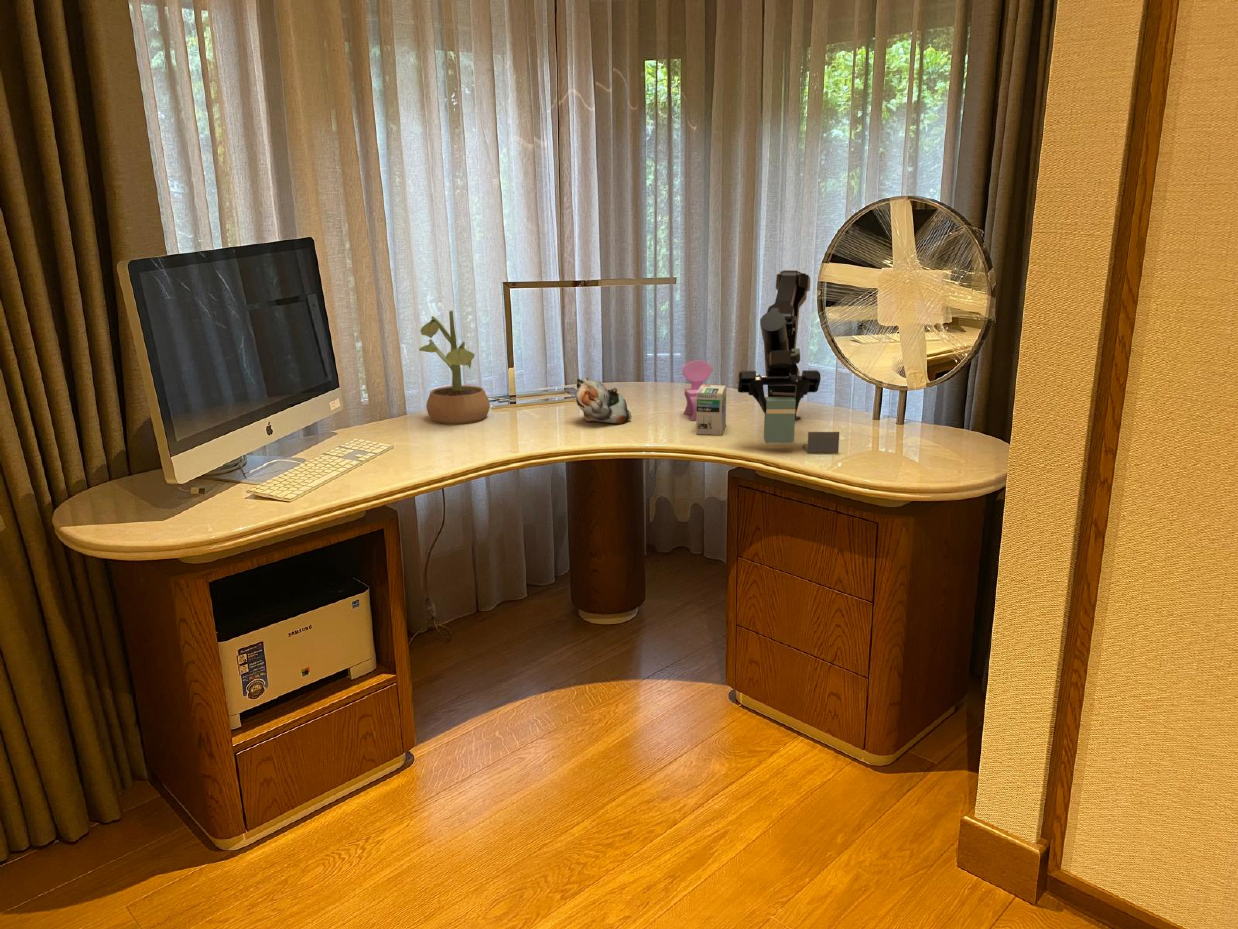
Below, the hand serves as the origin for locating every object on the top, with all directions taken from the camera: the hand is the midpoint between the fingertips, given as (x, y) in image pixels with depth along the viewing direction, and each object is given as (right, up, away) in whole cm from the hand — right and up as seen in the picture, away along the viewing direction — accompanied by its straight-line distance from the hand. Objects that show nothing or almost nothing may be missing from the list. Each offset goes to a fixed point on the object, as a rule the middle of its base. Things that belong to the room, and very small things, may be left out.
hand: (780, 412), depth 212 cm
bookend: (+10, -8, +5) cm, 14 cm away
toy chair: (-16, +1, +37) cm, 41 cm away
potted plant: (-81, 0, +37) cm, 89 cm away
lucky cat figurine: (-41, -1, +34) cm, 53 cm away
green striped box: (0, -6, +3) cm, 7 cm away
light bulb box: (-14, -3, +24) cm, 28 cm away
